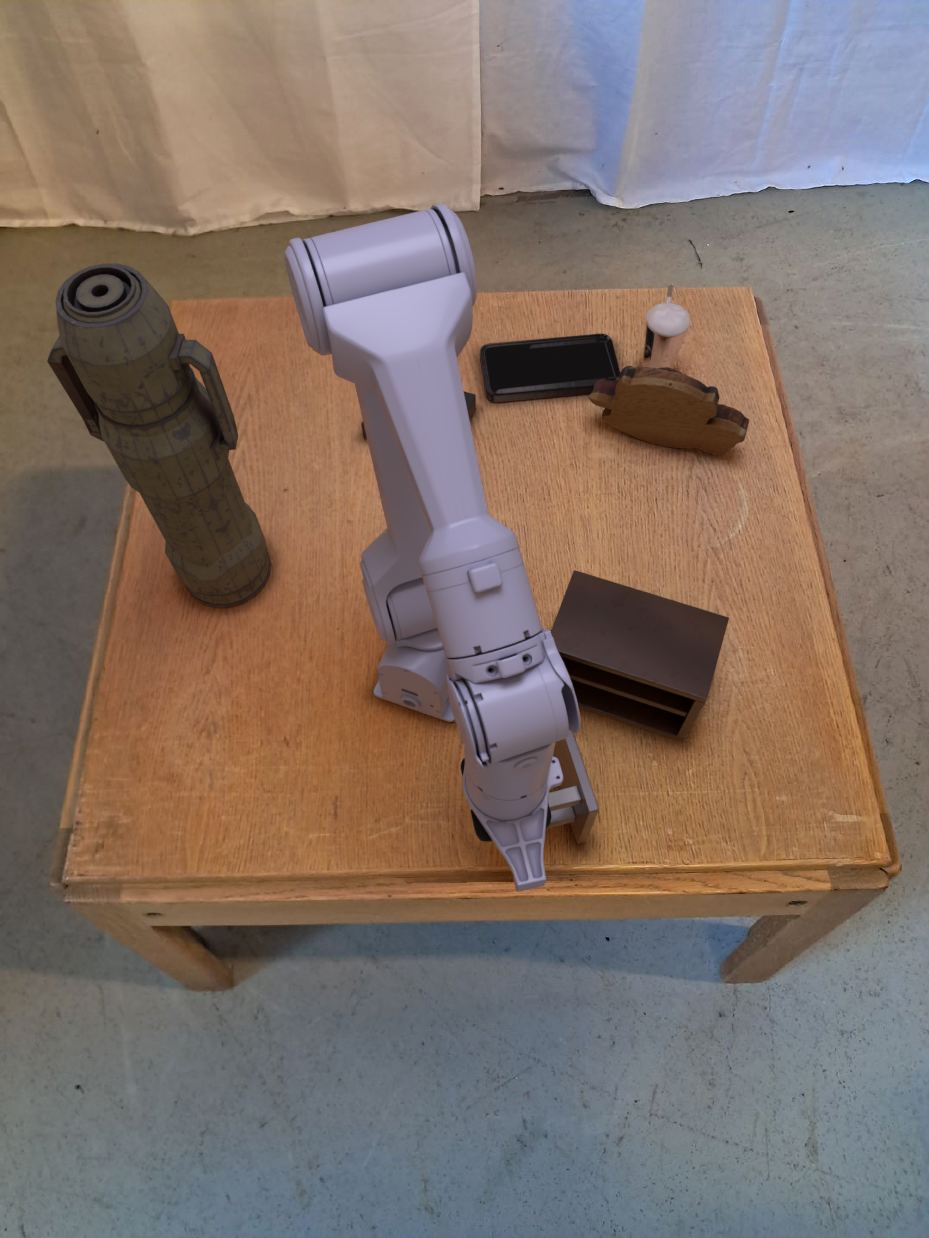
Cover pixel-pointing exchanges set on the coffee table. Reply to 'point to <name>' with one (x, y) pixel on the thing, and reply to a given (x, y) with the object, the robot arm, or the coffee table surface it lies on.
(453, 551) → the robot arm
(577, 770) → the door
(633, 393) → the wooden carving
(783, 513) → the coffee table surface
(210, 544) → the thermos
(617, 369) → the phone
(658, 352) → the milkshake
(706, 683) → the cupboard
